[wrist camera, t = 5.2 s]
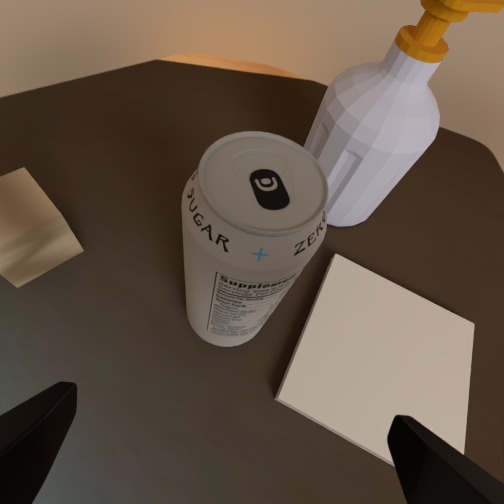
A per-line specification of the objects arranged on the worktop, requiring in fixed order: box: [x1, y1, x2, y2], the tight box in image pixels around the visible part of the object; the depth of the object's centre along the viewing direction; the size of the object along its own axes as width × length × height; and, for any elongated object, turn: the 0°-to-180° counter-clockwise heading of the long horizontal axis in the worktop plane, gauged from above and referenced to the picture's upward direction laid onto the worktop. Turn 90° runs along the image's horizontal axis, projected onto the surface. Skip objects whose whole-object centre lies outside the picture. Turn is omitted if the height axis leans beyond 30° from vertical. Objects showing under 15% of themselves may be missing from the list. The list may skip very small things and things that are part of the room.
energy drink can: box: [181, 131, 329, 347], centre depth 18 cm, size 6×6×15 cm
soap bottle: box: [303, 0, 504, 226], centre depth 22 cm, size 9×9×25 cm
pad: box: [275, 254, 474, 467], centre depth 24 cm, size 13×13×1 cm
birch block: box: [0, 167, 84, 288], centre depth 22 cm, size 5×5×5 cm
